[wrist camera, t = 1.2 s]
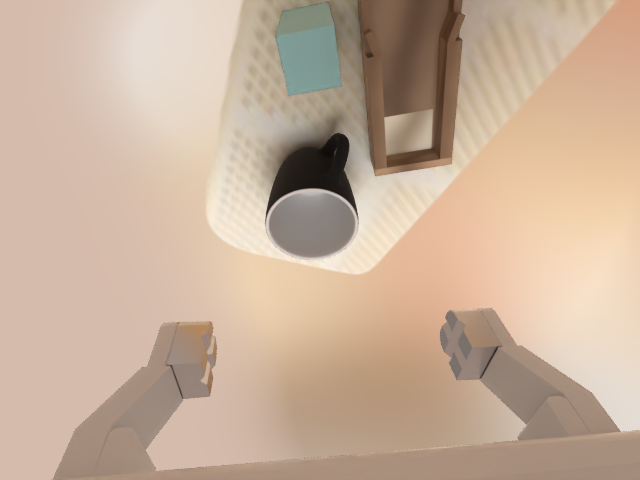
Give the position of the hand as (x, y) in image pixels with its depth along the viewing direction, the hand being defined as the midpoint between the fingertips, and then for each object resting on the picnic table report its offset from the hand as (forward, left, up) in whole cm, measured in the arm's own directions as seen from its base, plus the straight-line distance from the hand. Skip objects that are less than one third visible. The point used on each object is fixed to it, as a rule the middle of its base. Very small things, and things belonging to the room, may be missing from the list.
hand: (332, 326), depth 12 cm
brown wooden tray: (-8, +2, -29) cm, 30 cm away
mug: (+2, +10, -29) cm, 31 cm away
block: (0, -3, -29) cm, 29 cm away
